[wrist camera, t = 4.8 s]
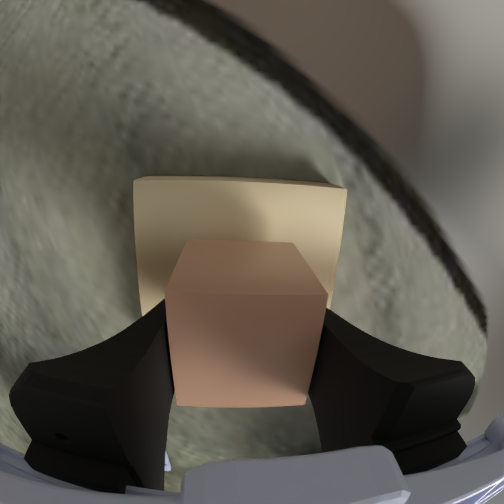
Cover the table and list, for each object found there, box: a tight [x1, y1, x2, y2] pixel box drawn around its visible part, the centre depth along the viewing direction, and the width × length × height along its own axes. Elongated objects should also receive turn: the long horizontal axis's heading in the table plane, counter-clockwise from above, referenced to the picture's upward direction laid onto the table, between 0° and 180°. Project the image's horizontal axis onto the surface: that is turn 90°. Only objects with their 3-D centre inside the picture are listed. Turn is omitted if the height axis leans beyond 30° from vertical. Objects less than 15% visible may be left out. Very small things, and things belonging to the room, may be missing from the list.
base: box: [133, 176, 347, 317], centre depth 16 cm, size 10×10×2 cm
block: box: [165, 239, 328, 408], centre depth 11 cm, size 4×4×5 cm
